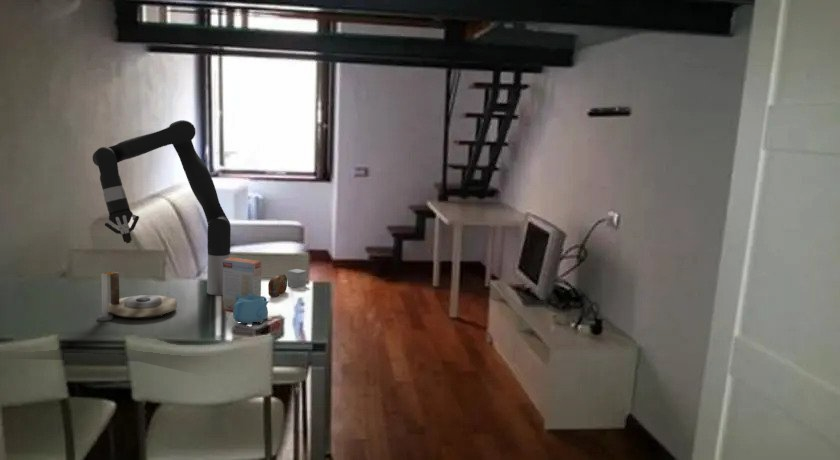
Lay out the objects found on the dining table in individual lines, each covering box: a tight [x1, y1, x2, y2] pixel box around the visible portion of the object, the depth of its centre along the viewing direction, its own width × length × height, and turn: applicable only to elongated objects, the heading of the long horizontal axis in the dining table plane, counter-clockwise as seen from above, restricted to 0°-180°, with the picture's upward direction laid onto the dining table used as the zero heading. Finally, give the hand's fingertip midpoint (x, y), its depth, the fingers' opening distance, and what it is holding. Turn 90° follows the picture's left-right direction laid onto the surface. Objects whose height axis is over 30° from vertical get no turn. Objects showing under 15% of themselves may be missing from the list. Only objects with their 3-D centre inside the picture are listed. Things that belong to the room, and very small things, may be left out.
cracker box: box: [222, 256, 262, 313], centre depth 251 cm, size 14×6×21 cm, turn 71°
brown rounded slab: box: [267, 274, 288, 298], centre depth 279 cm, size 15×3×8 cm, turn 168°
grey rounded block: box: [287, 268, 307, 289], centre depth 295 cm, size 6×6×7 cm
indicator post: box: [96, 270, 115, 322], centre depth 232 cm, size 6×5×17 cm
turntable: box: [108, 271, 178, 317], centre depth 243 cm, size 24×24×14 cm
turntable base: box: [119, 313, 167, 320], centre depth 244 cm, size 18×18×2 cm
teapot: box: [232, 294, 270, 324], centre depth 239 cm, size 13×14×11 cm
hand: (128, 242), depth 247 cm, fingers closed
